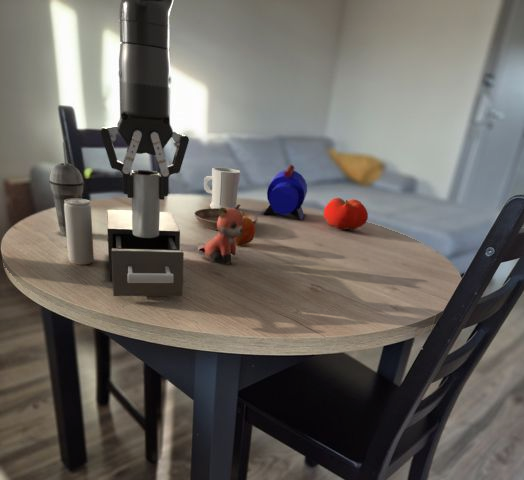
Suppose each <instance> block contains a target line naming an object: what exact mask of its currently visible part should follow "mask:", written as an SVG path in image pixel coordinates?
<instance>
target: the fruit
mask: <svg viewBox="0 0 524 480" xmlns="http://www.w3.org/2000/svg"><path fill="white" fill-rule="evenodd" d="M244 212H245V211H244ZM244 212H243V215H244ZM242 222H243V223H242V234H241V235H240V236H239V237H235V239H234V241H235V245H238V246H246V245H248V244H250V243H251V242H252V241H253V239H254V238H255V236H256V225H255V224H254V223H253V221H252V220H251V219H249V218H248V217H246V216H243V220H242Z"/></svg>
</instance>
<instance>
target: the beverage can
mask: <svg viewBox="0 0 524 480" xmlns="http://www.w3.org/2000/svg"><path fill="white" fill-rule="evenodd" d="M64 202H65V203H64V211H65V223H66V235H67V236H66V245H67V246H66V247H67V256H68V257H67V258H68V261H69V262H70V263H71V264H73V265H78V266H81V265H82V266H87V265H89V264H92V263H93V261H94V259H95V258H94V256H95V255H94V241H93V239H94V238H93V222H92V205H91V201H90V200H88V199H87V198H86V199H85V198H82V199H79V198H71V199H66V200H65V201H64Z"/></svg>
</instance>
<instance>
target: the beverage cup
mask: <svg viewBox="0 0 524 480" xmlns="http://www.w3.org/2000/svg"><path fill="white" fill-rule="evenodd" d="M66 150H67V149H66V142H65V141H64V142H62V155H63V162H62V163H58V164H56V165H55V166H54V167H53V168H52V169H51V171H50V174H49V184H50V189H51V192H52V196H53V201H54V206H55V213H56V219H57V225H58V227H59V233H60V235H62V236H66V237H67V235H66V223H65V211H64V203H65V202H64V201H65V200H66V199H71V198H79V199H83V192H84V185H85V182H84V178H83V175H82V173H81V172H80V170H79V169H78V168H77V167H76V166H75V165H73V164H71V163H67V152H66Z"/></svg>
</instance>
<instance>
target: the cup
mask: <svg viewBox="0 0 524 480" xmlns="http://www.w3.org/2000/svg"><path fill="white" fill-rule="evenodd" d="M240 178H241V170H239V169H235V168H229V167H212V168H211V175H207V176H205V177H204V178H203V190H204V191H205V192H206V193H207V194H211V202H210V203H209V208H221V207H223V208H225V209H228V208H232V209H233V208H235V207H236V206H237V205H238V204H237V203H238V194H239V193H238V192H239V185H240ZM210 181H211V187H212V188H211V187H210V186H209V182H210Z"/></svg>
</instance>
